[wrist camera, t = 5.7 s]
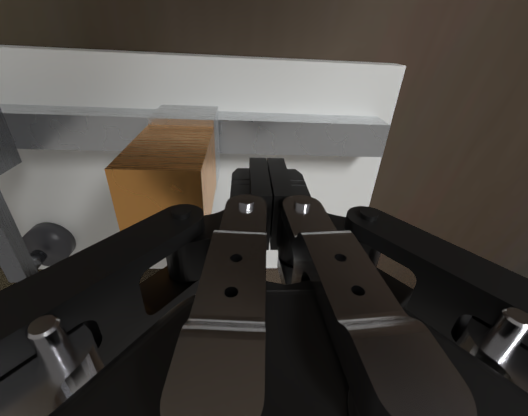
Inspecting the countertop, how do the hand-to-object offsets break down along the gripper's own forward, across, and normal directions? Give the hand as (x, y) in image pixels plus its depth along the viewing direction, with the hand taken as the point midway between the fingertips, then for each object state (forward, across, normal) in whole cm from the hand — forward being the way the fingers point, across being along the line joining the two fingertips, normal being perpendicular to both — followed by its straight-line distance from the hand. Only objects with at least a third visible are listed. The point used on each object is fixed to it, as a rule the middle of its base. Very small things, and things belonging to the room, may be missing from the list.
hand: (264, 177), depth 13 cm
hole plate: (+9, +5, +4) cm, 11 cm away
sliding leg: (+5, +4, +4) cm, 7 cm away
